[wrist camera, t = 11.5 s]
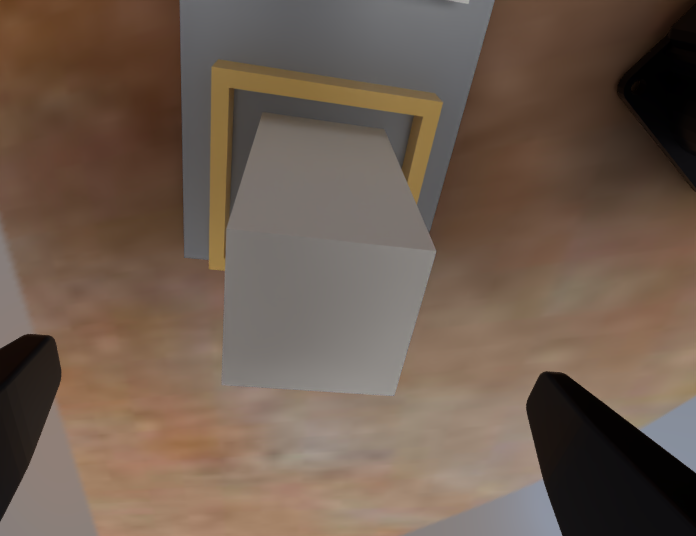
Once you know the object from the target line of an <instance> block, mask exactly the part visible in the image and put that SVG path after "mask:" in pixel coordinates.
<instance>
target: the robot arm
mask: <svg viewBox="0 0 696 536" xmlns="http://www.w3.org/2000/svg"><path fill="white" fill-rule="evenodd" d="M637 80H639V81H640V84H639V87H638V88H637V89H636V90H635V91H634V92H631V87H632V85H633V84H634V82H636V81H637ZM617 92H618V94H619V97H620V98H621V99H622V100H623V102H624V103H625V104H626V105H627V107H628V108H629V109H630V110H631V112H632V113H633V114H634V115H635V117H636V118H637V119H638V121H639V122H640V123H641V124H642V126H643V127H644V128H645V129H646V131H647V132H648V133H649V134H650V136H651V137H652V138H653V139H654V141H655V142H656V143H657V144H658V146H659V147H660V148H661V149H662V151H663V152H664V153H665V154H666V156H667V157H668V158H669V159H670V161H671V162H672V163H673V164H674V166H675V167H676V168H677V169H678V171H679V172H680V173H681V174H682V176H683V177H684V178H685V180H686V181H687V182H688V183H689V185H690V186H691V187H692V188H693V190H694V191H695V192H696V4H695V5H694V6H693V7H692V8H691V9H690V10H689V11H688V12H687V13H686V14H684V15H683V16H682V17H681V18H680V19H679V20H678V21H677V22H676V23H675V24H674V25H673V26H672V27H671V29H670V31H669V34H668V35H667V36H665V37H664V38H663V39H662V40H661V41H660V42H659V43H658V44H657V45H656V46H655V47H654V48H653V49H651V50H650V51H649V52H648V53H647V54H646V55H645V56H644V57H643V58H642V59H641V60H640V61H639V62H637V63H636V64H635V65H634V66H633V67H632V68H631V69H630V70H629V71H628V72H627V73H626V74H625V75H624V76H623V77H622V78H621V79H620V81H619V84H618V87H617ZM60 381H61V366H60V361H59V356H58V351H57V346H56V342H55V339H54V338H53V337H52V336H49V335H37V334H26V335H24V336H21V337H20V338H18V339H16V340H15V341H13V342H11V343H9V344H7V345H6V346H4V347H2V348H0V521H1V519H2V518H3V516H4V514H5V512H6V510H7V508H8V506H9V504H10V502H11V500H12V498H13V496H14V494H15V492H16V490H17V488H18V486H19V484H20V482H21V480H22V478H23V476H24V474H25V472H26V470H27V468H28V466H29V463H30V461H31V458H32V456H33V453H34V451H35V448H36V446H37V443H38V440H39V438H40V435H41V432H42V429H43V427H44V424H45V422H46V419H47V417H48V414H49V411H50V409H51V406H52V403H53V401H54V398H55V395H56V393H57V390H58V387H59V385H60ZM526 411H527V416H528V420H529V424H530V428H531V432H532V436H533V440H534V444H535V449H536V453H537V457H538V461H539V465H540V469H541V473H542V477H543V480H544V484H545V487H546V490H547V493H548V496H549V499H550V502H551V505H552V507H553V510H554V513H555V516H556V519H557V522H558V524H559V527H560V530H561V532H562V536H696V473H695V472H694V471H692V470H691V469H690V468H688V467H687V466H686V465H684V464H683V463H682V462H681V461H679V460H678V459H677V458H675V457H674V456H672V455H671V454H670V453H669V452H667V451H666V450H665V449H663V448H662V447H661V446H660V445H658V444H657V443H655V442H654V441H653V440H652V439H650V438H649V437H648V436H646V435H645V434H644V433H642V432H641V431H640V430H638V429H637V428H636V427H635V426H633V425H632V424H631V423H629V422H628V421H627V420H625V419H624V418H623V417H621V416H620V415H619V414H617V413H616V412H615V411H614V410H612V409H611V408H610V407H608V406H607V405H606V404H604V403H603V402H602V401H600V400H599V399H598V398H596V397H595V396H594V395H592V394H591V393H590V392H589V391H587V390H586V389H585V388H583V387H582V386H581V385H579V384H578V383H577V382H575V381H574V380H573V379H571V378H570V377H569V376H568V375H566V374H564V373H561V372H548V371H546V372H543V373H541V374H540V376H539V377H538V379H537V381H536V383H535V385H534V387H533V389H532V391H531V393H530V395H529V397H528V400H527V404H526Z"/></svg>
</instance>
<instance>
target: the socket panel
mask: <svg viewBox="0 0 696 536" xmlns="http://www.w3.org/2000/svg"><path fill="white" fill-rule="evenodd" d="M494 1H495V0H180V43H181V99H182V156H183V212H184V258H194V259H204V260H209V269H212V270H222V271H225V256H226V228H227V225H228V222H229V219H230V215H231V212H232V209H233V206H234V202H235V199H236V196H237V193H238V190H239V186H240V183H241V180H242V177H243V174H244V170H245V167H246V164H247V161H248V158H249V154H250V151H251V148H252V145H253V142H254V138H255V135H256V132H257V129H258V126H259V122H260V119H261V116H262V113H263V112H265V113H272V114H279V115H286V116H294V117H301V118H308V119H315V120H322V121H329V122H336V123H343V124H350V125H357V126H365V127H372V128H379V129H384V130H385V132H386V134H387V137H388V139H389V141H390V144H391V146H392V148H393V151H394V153H395V155H396V158H397V160H398V162H399V165H400V167H401V169H402V172H403V174H404V176H405V179H406V181H407V183H408V186H409V188H410V190H411V193H412V195H413V197H414V200H415V202H416V204H417V207H418V209H419V211H420V214H421V216H422V218H423V221H424V223H425V225H426V228H427V230H428V232H430V229H431V225H432V222H433V218H434V215H435V211H436V208H437V204H438V200H439V197H440V193H441V190H442V186H443V183H444V179H445V176H446V172H447V168H448V165H449V161H450V158H451V154H452V151H453V147H454V143H455V140H456V136H457V133H458V129H459V126H460V122H461V119H462V115H463V111H464V108H465V104H466V101H467V97H468V94H469V90H470V86H471V83H472V79H473V76H474V72H475V69H476V65H477V62H478V58H479V54H480V51H481V47H482V44H483V40H484V37H485V33H486V30H487V26H488V22H489V19H490V15H491V12H492V8H493V5H494Z"/></svg>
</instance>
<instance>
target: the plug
mask: <svg viewBox="0 0 696 536" xmlns="http://www.w3.org/2000/svg"><path fill="white" fill-rule="evenodd" d="M435 255H436V249H435V246H434V244H433V242H432V239H431V237H430V235H429V232H428V230H427V228H426V225H425V223H424V221H423V218H422V216H421V214H420V211H419V209H418V207H417V204H416V202H415V200H414V197H413V195H412V193H411V190H410V188H409V186H408V183H407V181H406V179H405V176H404V174H403V172H402V169H401V167H400V165H399V162H398V160H397V158H396V155H395V153H394V151H393V148H392V146H391V144H390V141H389V139H388V137H387V134H386V132H385V130H384V129H379V128H372V127H365V126H357V125H350V124H343V123H336V122H329V121H322V120H315V119H308V118H301V117H294V116H286V115H279V114H272V113H265V112H263V113H262V116H261V119H260V122H259V126H258V129H257V132H256V135H255V138H254V142H253V145H252V148H251V151H250V154H249V158H248V161H247V164H246V167H245V170H244V174H243V177H242V180H241V183H240V186H239V190H238V193H237V196H236V199H235V202H234V206H233V209H232V212H231V215H230V219H229V222H228V225H227V228H226V256H225V289H224V322H223V355H222V385H230V386H245V387H261V388H276V389H292V390H308V391H323V392H339V393H354V394H370V395H386V396H394V395H395V391H396V388H397V385H398V381H399V378H400V374H401V371H402V368H403V364H404V361H405V357H406V354H407V350H408V347H409V344H410V340H411V337H412V333H413V330H414V327H415V323H416V320H417V316H418V313H419V309H420V306H421V303H422V299H423V296H424V292H425V289H426V286H427V282H428V279H429V275H430V272H431V268H432V265H433V262H434V258H435Z"/></svg>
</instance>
